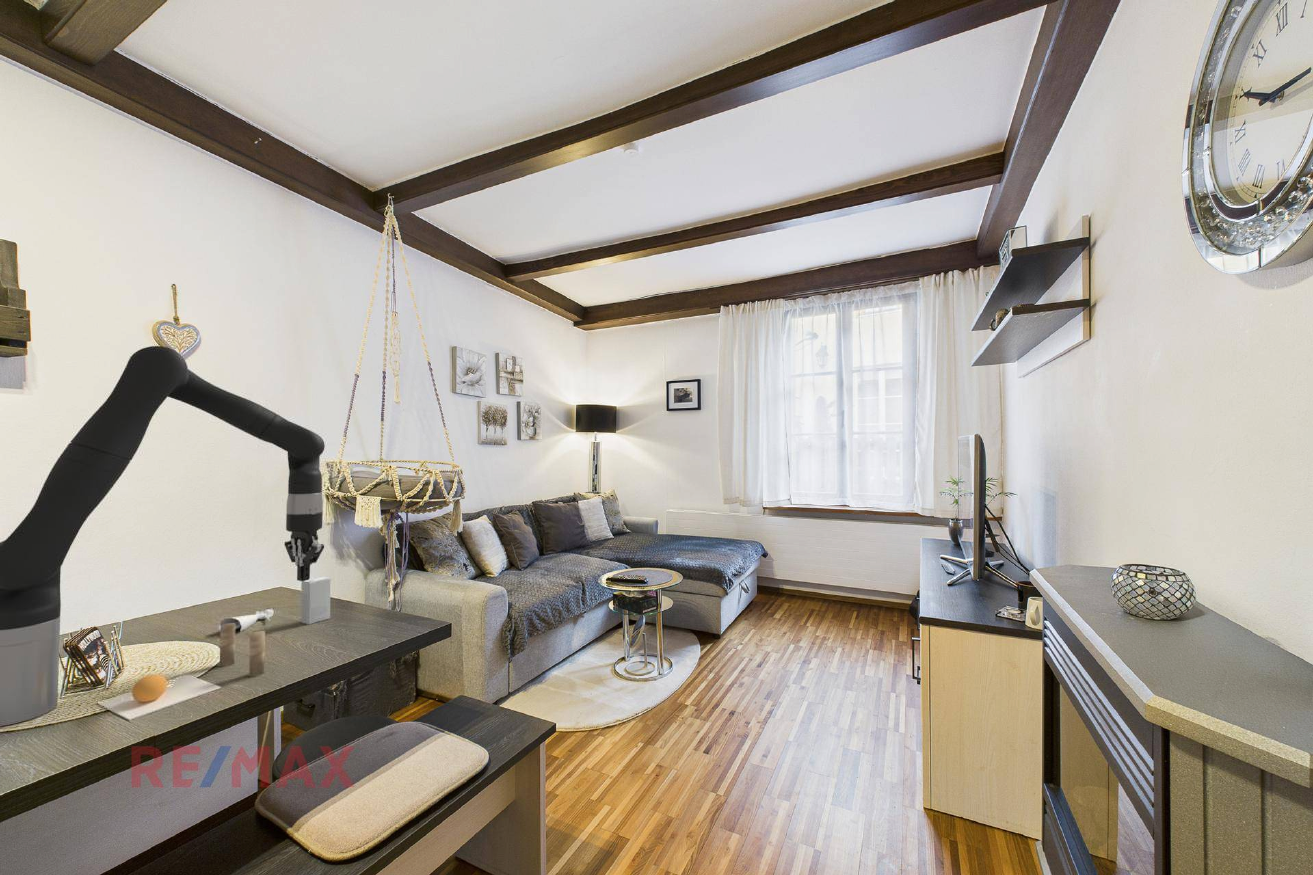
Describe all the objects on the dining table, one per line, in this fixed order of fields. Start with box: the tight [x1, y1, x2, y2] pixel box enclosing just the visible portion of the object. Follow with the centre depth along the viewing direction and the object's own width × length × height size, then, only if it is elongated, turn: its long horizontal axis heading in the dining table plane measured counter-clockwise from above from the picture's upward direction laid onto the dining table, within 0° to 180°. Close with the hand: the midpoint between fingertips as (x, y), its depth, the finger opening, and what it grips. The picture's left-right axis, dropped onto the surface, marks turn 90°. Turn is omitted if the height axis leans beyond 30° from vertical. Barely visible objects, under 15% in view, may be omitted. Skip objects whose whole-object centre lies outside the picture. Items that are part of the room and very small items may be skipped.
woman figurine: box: [216, 607, 275, 633], centre depth 144 cm, size 12×4×18 cm
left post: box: [219, 623, 236, 667], centre depth 118 cm, size 3×3×9 cm
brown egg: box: [131, 673, 168, 702], centre depth 101 cm, size 5×5×5 cm
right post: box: [248, 630, 266, 678], centre depth 113 cm, size 3×3×9 cm
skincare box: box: [300, 576, 331, 625], centre depth 148 cm, size 6×4×12 cm
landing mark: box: [97, 674, 222, 721], centre depth 103 cm, size 14×14×1 cm
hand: (303, 580), depth 128 cm, fingers closed
